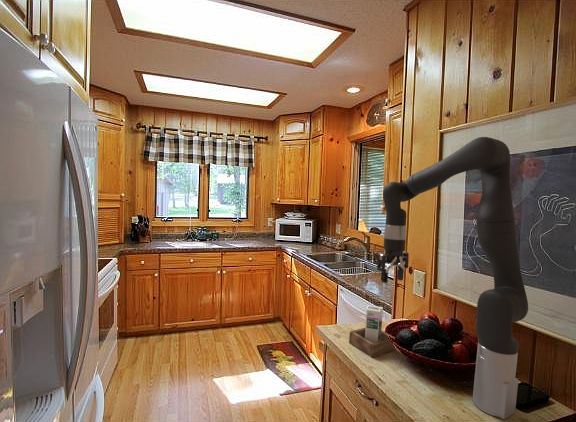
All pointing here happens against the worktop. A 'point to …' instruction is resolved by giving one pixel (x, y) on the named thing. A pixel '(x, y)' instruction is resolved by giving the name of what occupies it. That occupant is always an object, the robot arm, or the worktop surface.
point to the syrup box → (373, 323)
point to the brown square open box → (368, 347)
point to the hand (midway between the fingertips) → (392, 281)
